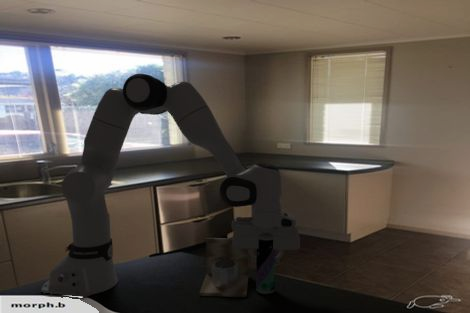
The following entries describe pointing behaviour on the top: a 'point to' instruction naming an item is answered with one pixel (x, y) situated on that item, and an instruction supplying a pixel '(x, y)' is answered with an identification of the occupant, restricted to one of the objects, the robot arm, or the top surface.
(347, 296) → the top surface
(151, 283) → the top surface
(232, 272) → the ring
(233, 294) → the brown l-shaped piece
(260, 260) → the spray can
